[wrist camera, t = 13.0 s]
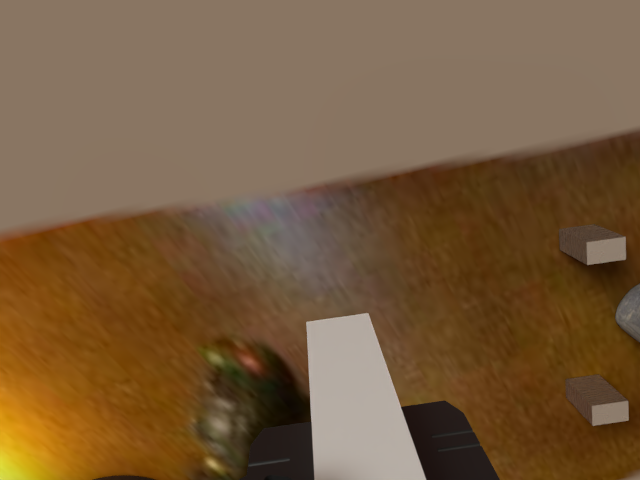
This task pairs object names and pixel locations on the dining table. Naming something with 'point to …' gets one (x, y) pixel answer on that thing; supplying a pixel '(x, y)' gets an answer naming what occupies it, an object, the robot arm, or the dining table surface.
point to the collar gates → (594, 391)
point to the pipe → (630, 313)
